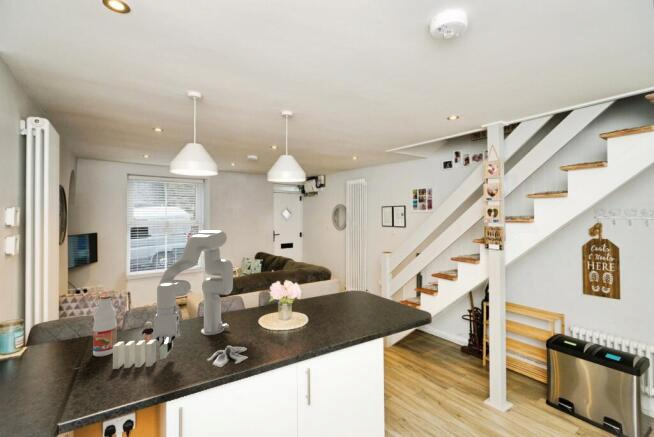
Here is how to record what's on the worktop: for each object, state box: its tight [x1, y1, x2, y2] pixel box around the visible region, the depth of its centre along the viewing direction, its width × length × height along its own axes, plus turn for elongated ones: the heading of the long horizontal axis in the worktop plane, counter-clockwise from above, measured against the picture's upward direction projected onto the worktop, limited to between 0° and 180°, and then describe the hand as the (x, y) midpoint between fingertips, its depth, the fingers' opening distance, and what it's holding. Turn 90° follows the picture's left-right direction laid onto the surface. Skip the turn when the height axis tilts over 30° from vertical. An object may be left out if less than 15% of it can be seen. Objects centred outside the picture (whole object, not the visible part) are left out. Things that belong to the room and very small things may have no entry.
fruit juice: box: [92, 294, 118, 357], centre depth 148 cm, size 9×9×28 cm
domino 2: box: [123, 340, 136, 369], centre depth 135 cm, size 2×5×10 cm, turn 9°
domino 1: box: [112, 340, 125, 370], centre depth 134 cm, size 2×5×10 cm, turn 9°
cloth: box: [206, 345, 249, 368], centre depth 143 cm, size 22×19×6 cm
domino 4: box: [145, 339, 157, 368], centre depth 136 cm, size 2×5×10 cm, turn 9°
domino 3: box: [134, 339, 146, 368], centre depth 136 cm, size 2×5×10 cm, turn 9°
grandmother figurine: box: [140, 321, 154, 344], centre depth 156 cm, size 8×4×13 cm, turn 117°
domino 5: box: [159, 336, 174, 360], centre depth 138 cm, size 2×5×10 cm
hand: (166, 350), depth 137 cm, fingers closed on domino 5
